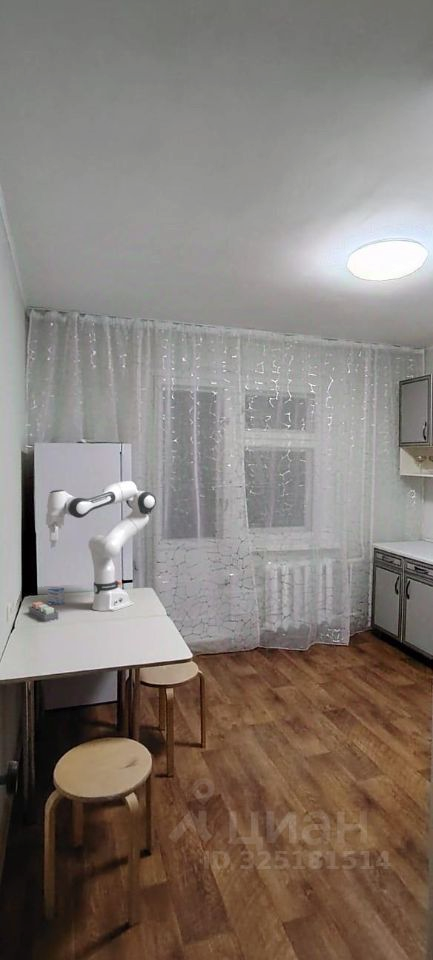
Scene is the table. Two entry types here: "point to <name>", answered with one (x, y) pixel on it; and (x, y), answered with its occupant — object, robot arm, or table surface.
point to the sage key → (48, 610)
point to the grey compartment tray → (43, 616)
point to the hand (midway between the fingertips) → (52, 548)
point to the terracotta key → (35, 605)
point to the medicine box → (56, 595)
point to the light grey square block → (40, 607)
